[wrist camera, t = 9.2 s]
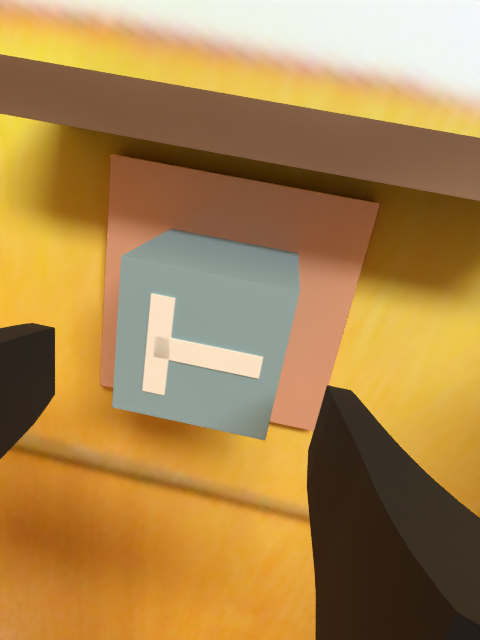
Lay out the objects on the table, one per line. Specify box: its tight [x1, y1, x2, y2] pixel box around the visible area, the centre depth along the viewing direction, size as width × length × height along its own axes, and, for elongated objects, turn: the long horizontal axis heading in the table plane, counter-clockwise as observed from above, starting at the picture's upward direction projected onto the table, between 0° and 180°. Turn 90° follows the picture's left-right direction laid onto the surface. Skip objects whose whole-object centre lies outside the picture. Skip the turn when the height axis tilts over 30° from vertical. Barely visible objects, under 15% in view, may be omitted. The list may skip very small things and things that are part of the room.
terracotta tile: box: [100, 154, 380, 431], centre depth 17 cm, size 10×10×1 cm
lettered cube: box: [112, 229, 300, 440], centre depth 15 cm, size 5×5×5 cm
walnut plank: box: [0, 54, 480, 201], centre depth 13 cm, size 2×18×4 cm, turn 81°
